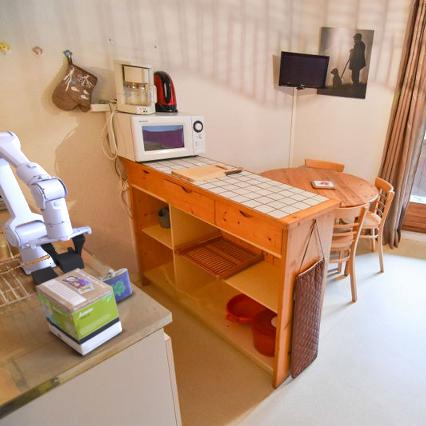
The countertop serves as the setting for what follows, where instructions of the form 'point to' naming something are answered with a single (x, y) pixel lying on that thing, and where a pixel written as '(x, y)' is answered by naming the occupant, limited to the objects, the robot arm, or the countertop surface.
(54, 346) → the countertop surface
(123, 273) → the flask
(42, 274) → the tongue pad
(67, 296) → the tea box
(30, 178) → the robot arm
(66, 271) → the slot pad
